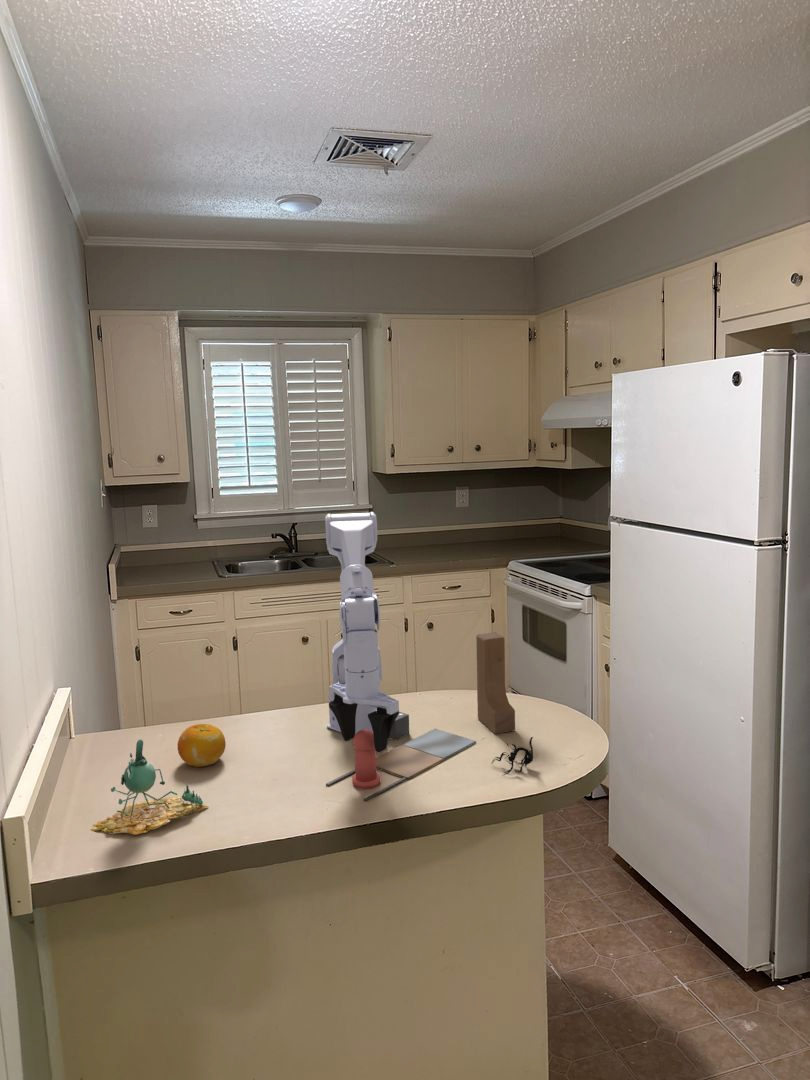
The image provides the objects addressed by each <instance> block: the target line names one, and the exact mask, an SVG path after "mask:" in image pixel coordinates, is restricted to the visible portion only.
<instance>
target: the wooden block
mask: <svg viewBox="0 0 810 1080" xmlns="http://www.w3.org/2000/svg"><path fill="white" fill-rule="evenodd" d="M505 642H506V641H505V637H504V636H502V635H501V634H499V633H497V632H487V633H480V634H476V642H475V643H476V681H477V683H476V684H477V685H476V687H477V688H476V689H477V691H476V693H477V697H476V698H477V699H476V700H477V701H476V702H477V719H478V720H479V721H480V722H481V723H482V724H484V726H485V727H487V728H488V730H490V731H491V732H493V733H494V734H495V735H496V734H503V733H510V732H515V731H516V710H515V708H514V707H513V706H512V705H511V704H510V701H509V699H508V696H507V690H506V664H505V663H506V660H505V659H506V658H505V656H506V655H505V654H506V653H505V651H506V650H505V648H506V647H505V645H506V644H505Z"/></svg>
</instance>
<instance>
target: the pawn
mask: <svg viewBox="0 0 810 1080" xmlns="http://www.w3.org/2000/svg"><path fill="white" fill-rule="evenodd" d="M352 744H353V747H354V770H355V771H356V773H354V774H352V777H351V778H352V779H351V782H352V785H353V787H354V788H356V789H360V790H371V789H374V788H377V787H379V786H380V784H381V775H380V774H379V773H378V772H377V770H378V769H377V768H376V757H377V752H376V750H375V746H374V735H373V732H372V731H370V730H367V729H362V730H360V731H358V732H357V733H356V734H355V736H354V738H353V739H352Z"/></svg>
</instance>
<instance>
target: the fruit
mask: <svg viewBox="0 0 810 1080" xmlns="http://www.w3.org/2000/svg"><path fill="white" fill-rule="evenodd" d="M226 745H227V742H226V738H225V735H224V732H223V731H222V730H221V729H220V728H218V727H217V726H215V725H212V724H209V723H199V724H193V725H190V726H189V727H187V728H185V730H184V731H182V733H181V734H180V736H179V737H178V742H177V752H178V755H179V757H180V759H181V760H182V761H183V762H184V763H185V764H186V765H188V766H190V767H196V768H200V767H201V768H202V767H207V766H210V765H214V763H216V762H218V761H219V760H220V758H221V757H222V756H223V754H224V753H225V750H226Z"/></svg>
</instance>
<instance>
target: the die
mask: <svg viewBox="0 0 810 1080" xmlns="http://www.w3.org/2000/svg"><path fill="white" fill-rule="evenodd" d="M408 735H410V715H409V714H408V713H404V712H403V711H402V712H401V711H399V714H398V716H397V718H396V720H395V722H394V724H393V726H392V729H391V732H390V736H389V740H390V739H391V740H393V741H397V740H399V739H402V738H404V737H406V736H408Z"/></svg>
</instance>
